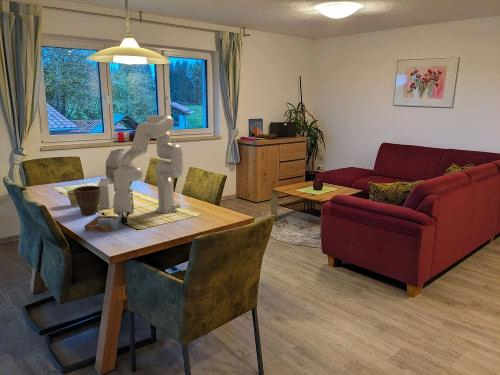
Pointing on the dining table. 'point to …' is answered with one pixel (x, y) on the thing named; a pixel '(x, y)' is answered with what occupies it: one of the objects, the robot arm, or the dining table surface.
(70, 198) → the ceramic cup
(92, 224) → the corral
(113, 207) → the robot arm
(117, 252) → the dining table surface
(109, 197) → the milk carton
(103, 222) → the t block
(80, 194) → the plant pot
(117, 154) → the vase
